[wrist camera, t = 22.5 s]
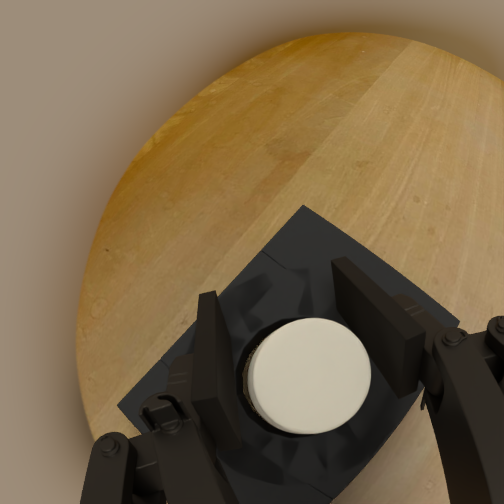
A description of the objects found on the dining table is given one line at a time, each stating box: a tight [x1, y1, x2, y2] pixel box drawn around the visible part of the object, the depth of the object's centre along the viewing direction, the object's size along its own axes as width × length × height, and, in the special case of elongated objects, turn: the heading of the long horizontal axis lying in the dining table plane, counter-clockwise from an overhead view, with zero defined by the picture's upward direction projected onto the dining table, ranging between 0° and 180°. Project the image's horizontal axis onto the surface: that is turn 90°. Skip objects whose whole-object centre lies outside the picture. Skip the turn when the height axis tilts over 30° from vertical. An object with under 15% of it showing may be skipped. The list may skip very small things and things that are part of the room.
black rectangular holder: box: [117, 205, 460, 504], centre depth 15 cm, size 16×12×3 cm
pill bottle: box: [247, 318, 371, 434], centre depth 13 cm, size 5×5×8 cm
